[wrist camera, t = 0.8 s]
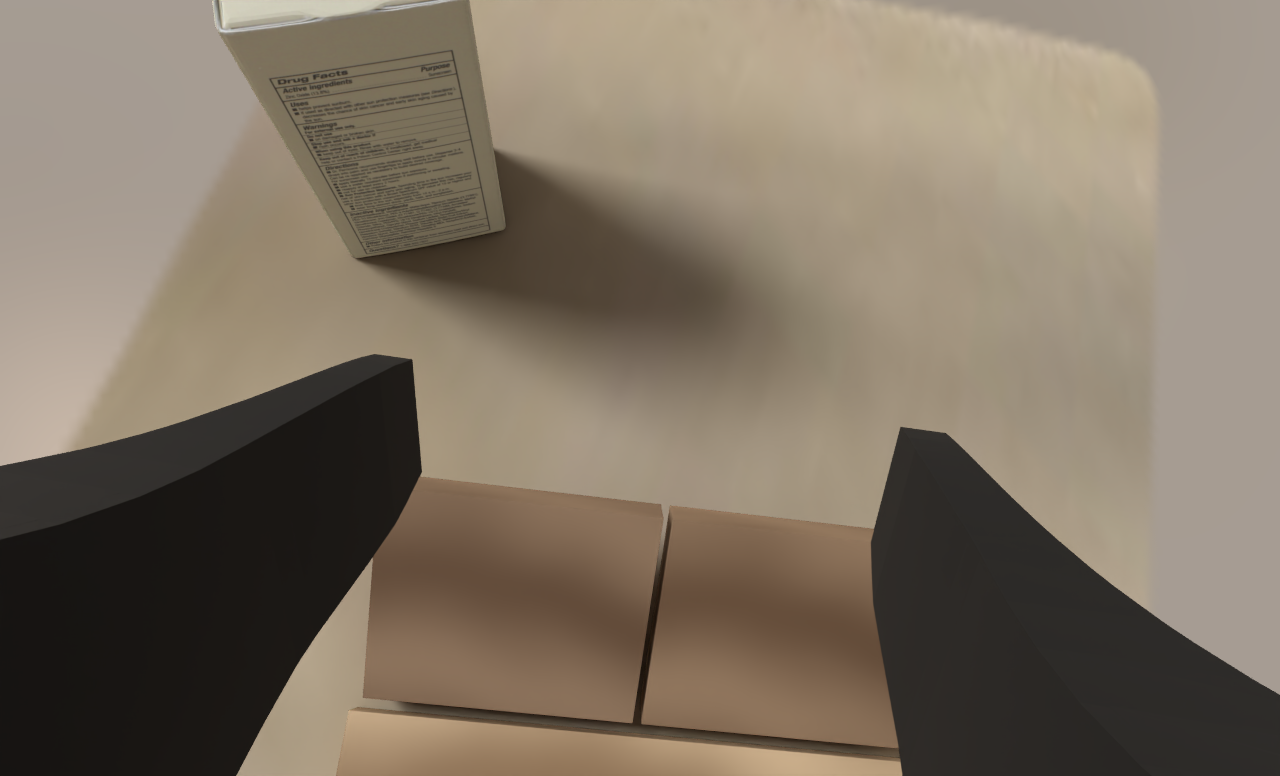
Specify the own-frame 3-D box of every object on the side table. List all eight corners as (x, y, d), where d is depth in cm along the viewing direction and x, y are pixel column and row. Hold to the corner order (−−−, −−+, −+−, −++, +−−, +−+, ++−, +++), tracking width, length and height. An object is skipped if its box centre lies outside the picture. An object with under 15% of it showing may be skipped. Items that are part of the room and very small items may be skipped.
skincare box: (487, 142, 32) (451, -135, 21) (509, 234, 31) (483, -5, 20) (326, 167, 31) (194, -111, 20) (342, 263, 30) (212, 29, 19)
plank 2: (885, 725, 27) (897, 748, 26) (640, 701, 26) (641, 723, 25) (928, 535, 26) (943, 550, 24) (669, 505, 25) (673, 519, 24)
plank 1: (631, 700, 26) (632, 723, 25) (373, 676, 26) (363, 697, 25) (660, 504, 25) (663, 518, 24) (389, 473, 24) (378, 486, 23)
